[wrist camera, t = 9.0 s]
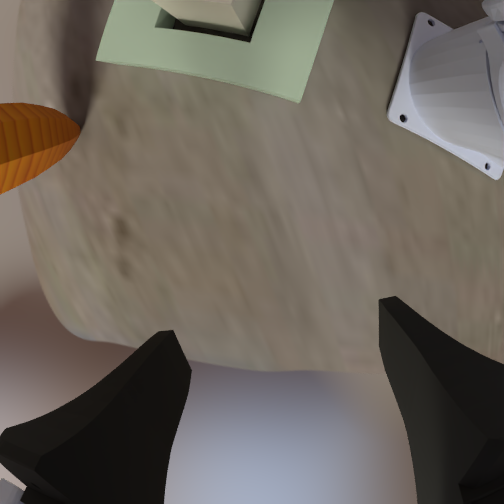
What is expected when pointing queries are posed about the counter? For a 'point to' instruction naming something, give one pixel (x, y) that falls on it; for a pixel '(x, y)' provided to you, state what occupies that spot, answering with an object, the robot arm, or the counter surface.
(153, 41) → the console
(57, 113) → the carrot
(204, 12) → the peg
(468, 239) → the counter surface
